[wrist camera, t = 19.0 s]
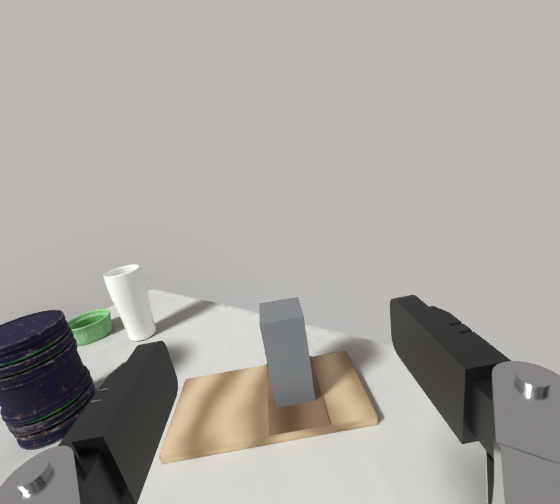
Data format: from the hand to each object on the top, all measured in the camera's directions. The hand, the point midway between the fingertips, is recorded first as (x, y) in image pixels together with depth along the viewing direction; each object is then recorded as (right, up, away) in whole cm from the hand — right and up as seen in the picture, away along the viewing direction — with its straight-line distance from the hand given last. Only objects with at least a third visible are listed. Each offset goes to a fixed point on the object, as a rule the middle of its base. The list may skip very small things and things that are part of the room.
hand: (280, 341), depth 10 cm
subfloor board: (-1, -17, +28) cm, 33 cm away
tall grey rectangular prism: (+2, -15, +27) cm, 31 cm away
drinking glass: (-29, -15, +50) cm, 60 cm away
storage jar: (-32, -21, +31) cm, 49 cm away
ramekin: (-42, -16, +53) cm, 70 cm away
